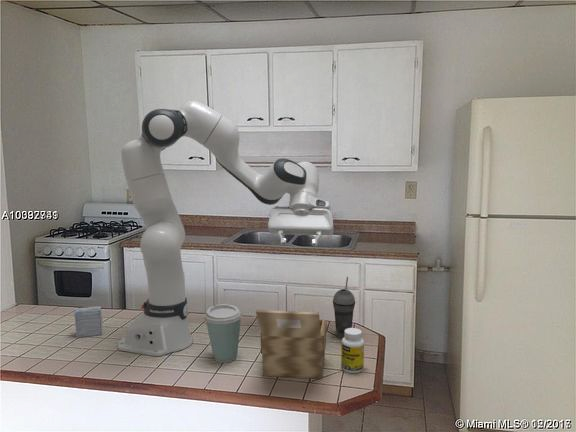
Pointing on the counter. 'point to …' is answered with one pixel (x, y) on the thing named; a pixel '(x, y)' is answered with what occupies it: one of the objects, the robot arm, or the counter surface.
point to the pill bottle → (352, 351)
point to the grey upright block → (88, 321)
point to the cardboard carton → (294, 355)
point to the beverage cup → (343, 310)
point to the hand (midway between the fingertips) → (298, 245)
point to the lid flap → (289, 323)
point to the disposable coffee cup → (223, 331)
